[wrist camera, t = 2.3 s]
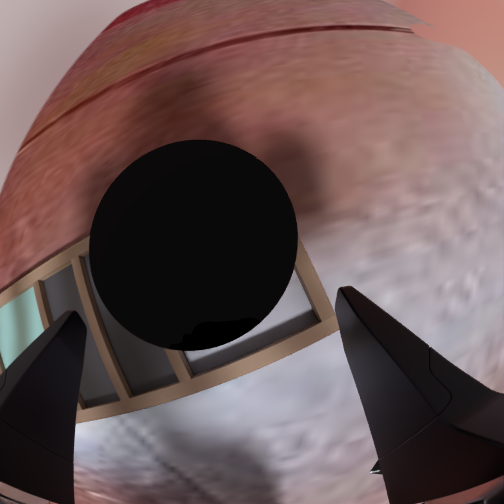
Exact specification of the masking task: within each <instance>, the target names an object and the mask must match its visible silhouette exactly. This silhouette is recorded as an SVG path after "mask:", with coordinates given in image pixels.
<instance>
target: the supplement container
mask: <svg viewBox="0 0 504 504" xmlns="http://www.w3.org/2000/svg"><path fill="white" fill-rule="evenodd" d="M297 249H298V230H297V222H296V217H295V212H294V209H293V206H292V203H291V201H290V198H289V196H288V194H287V192H286V190H285V188H284V187H283V185H282V183H281V182H280V181H279V179H278V178H277V177H276V175H275V174H274V173H273V172H272V171H271V170H270V169H269V168H268V167H267V166H266V165H265V164H264V163H263V162H262V161H260V160H259V159H258V158H256V157H255V156H253V155H252V154H250V153H248V152H246V151H245V150H243V149H240V148H238V147H236V146H233V145H230V144H227V143H223V142H218V141H211V140H186V141H180V142H175V143H171V144H168V145H165V146H162V147H159V148H157V149H155V150H153V151H150V152H148V153H147V154H145V155H143V156H142V157H140V158H138V159H137V160H136V161H134V162H133V163H132V164H130V165H129V166H128V167H127V168H126V169H125V170H124V171H123V172H122V173H121V174H120V175H119V176H118V177H117V178H116V179H115V180H114V182H113V183H112V184H111V185H110V187H109V188H108V190H107V191H106V193H105V194H104V196H103V198H102V200H101V202H100V204H99V206H98V208H97V211H96V214H95V216H94V219H93V223H92V227H91V232H90V239H89V262H90V269H91V274H92V278H93V282H94V284H95V287H96V290H97V292H98V294H99V296H100V298H101V300H102V302H103V304H104V305H105V307H106V308H107V310H108V311H109V313H110V314H111V315H112V316H113V318H114V319H115V320H116V321H117V322H118V323H119V324H120V325H121V326H122V327H124V328H125V329H126V330H127V331H129V332H130V333H131V334H133V335H134V336H136V337H138V338H139V339H141V340H143V341H145V342H147V343H150V344H152V345H155V346H158V347H162V348H166V349H170V350H179V351H197V350H205V349H210V348H214V347H218V346H221V345H224V344H226V343H229V342H231V341H233V340H235V339H237V338H239V337H241V336H243V335H244V334H246V333H247V332H249V331H250V330H252V329H253V328H254V327H255V326H257V325H258V324H259V323H260V322H261V321H262V320H263V319H264V318H265V317H266V316H267V315H268V314H269V313H270V312H271V311H272V310H273V308H274V307H275V306H276V305H277V303H278V302H279V300H280V298H281V297H282V295H283V294H284V292H285V290H286V288H287V286H288V284H289V281H290V279H291V276H292V273H293V270H294V266H295V262H296V257H297Z"/></svg>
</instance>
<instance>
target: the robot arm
mask: <svg viewBox="0 0 504 504" xmlns="http://www.w3.org/2000/svg"><path fill="white" fill-rule="evenodd" d="M335 313H336V317H337V321H338V325H339V329H340V334H341V338H342V342H343V347H344V351H345V354H346V357H347V360H348V363H349V366H350V369H351V372H352V375H353V378H354V381H355V384H356V387H357V390H358V393H359V396H360V399H361V402H362V405H363V408H364V411H365V415H366V418H367V421H368V424H369V428H370V431H371V434H372V438H373V441H374V445H375V448H376V452H377V455H378V459H379V463H380V467H381V471H382V474H383V478H384V482H385V486H386V490H387V495H388V499H389V503H390V504H416V503H421V502H424V503H422V504H504V394H503V393H499V392H496V391H493V390H491V389H490V388H488V387H486V386H485V385H483V384H482V383H480V382H479V381H477V380H476V379H474V378H473V377H471V376H470V375H468V374H467V373H465V372H464V371H462V370H461V369H459V368H458V367H457V366H455V365H454V364H452V363H451V362H449V361H448V360H447V359H446V358H444V357H443V356H442V355H440V354H439V353H438V352H437V351H435V350H434V349H433V348H432V347H429V345H428V344H426V343H425V342H424V341H423V340H421V339H420V338H419V337H418V336H416V335H415V334H414V333H412V332H411V331H410V330H409V329H407V328H406V327H405V326H404V325H402V324H401V323H400V322H398V321H397V320H396V319H394V318H393V317H392V316H391V315H389V314H388V313H387V312H385V311H384V310H383V309H381V308H380V307H379V306H377V305H376V304H375V303H374V302H372V301H371V300H370V299H368V298H367V297H366V296H364V295H363V294H362V293H360V292H359V291H358V290H356V289H355V288H353V287H352V286H345V287H340V288H339V289H338V291H337V297H336V303H335ZM86 338H87V326H86V324H85V323H84V321H83V320H82V318H81V317H80V315H79V313H78V312H77V311H75V310H68V311H65V312H64V313H63V314H62V315H61V316H60V317H59V318H58V319H56V320H55V321H54V322H53V323H52V324H51V325H50V326H49V327H48V328H47V329H46V330H45V331H43V332H42V333H41V334H40V335H39V336H38V337H37V338H36V339H35V340H34V341H33V342H32V343H31V344H30V345H29V346H28V347H27V348H26V349H25V350H24V351H23V352H22V353H21V354H20V355H19V356H18V357H17V358H16V359H15V360H14V361H13V362H12V363H11V364H10V365H9V366H8V368H6V369H5V370H4V371H3V372H2V373H1V374H0V504H50V501H51V502H55V503H58V504H75V501H74V463H73V462H74V439H75V425H76V415H77V406H78V398H79V391H80V385H81V378H82V372H83V365H84V355H85V346H86Z"/></svg>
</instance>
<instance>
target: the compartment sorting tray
mask: <svg viewBox="0 0 504 504" xmlns="http://www.w3.org/2000/svg"><path fill="white" fill-rule="evenodd" d="M89 239H90V236H88V237H86V238H85V239H83V240H81V241H79V242H78V243H76V244H74V245H73V246H71V247H69V248H68V249H66V250H65V251H63V252H61V253H60V254H58V255H56V256H55V257H53V258H52V259H50V260H49V261H47V262H45V263H44V264H42V265H41V266H39V267H38V268H36V269H35V270H33V271H32V272H30V273H29V274H27V275H26V276H25V277H23V278H22V279H20V280H19V281H17V282H16V283H15V284H13V285H12V286H10V287H9V288H8V289H6V290H5V291H4V292H2V293H1V294H0V374H1V373H2V372H3V371H4V370H5V369H6V368H8V366H9V365H10V364H11V363H12V362H13V361H14V360H15V359H16V358H17V357H18V356H19V355H20V354H21V353H22V352H23V351H24V350H25V349H26V348H27V347H28V346H29V345H30V344H31V343H32V342H33V341H34V340H35V339H36V338H37V337H38V336H39V335H40V334H41V333H42V332H43V331H45V330H46V329H47V328H48V327H49V326H50V325H51V324H52V323H53V322H54V321H55V320H56V319H58V318H59V317H60V316H61V315H62V314H63V313H64V312H65V311H68V310H75V311H77V312H78V313H79V315H80V317H81V318H82V320H83V321H84V323H85V324H86V326H87V338H86V346H85V355H84V365H83V372H82V378H81V385H80V391H79V398H78V406H77V415H76V423H82V422H87V421H93V420H98V419H103V418H108V417H112V416H117V415H121V414H125V413H129V412H133V411H137V410H141V409H145V408H148V407H152V406H156V405H159V404H162V403H166V402H169V401H172V400H176V399H179V398H182V397H185V396H188V395H191V394H194V393H197V392H200V391H203V390H206V389H208V388H211V387H214V386H217V385H219V384H222V383H225V382H227V381H230V380H233V379H235V378H238V377H240V376H243V375H245V374H247V373H250V372H252V371H255V370H257V369H259V368H262V367H264V366H266V365H269V364H271V363H273V362H275V361H278V360H280V359H282V358H284V357H286V356H288V355H291V354H293V353H295V352H297V351H299V350H301V349H303V348H305V347H307V346H309V345H311V344H313V343H315V342H317V341H319V340H321V339H323V338H325V337H327V336H329V335H331V334H332V333H334V332H336V331H338V330H340V329H339V325H338V321H337V317H336V314H335V312H334V310H333V308H332V306H331V303H330V301H329V299H328V297H327V295H326V292H325V290H324V288H323V286H322V284H321V282H320V279H319V277H318V275H317V273H316V271H315V269H314V267H313V265H312V263H311V260H310V258H309V256H308V254H307V252H306V250H305V248H304V246H303V244H302V242H301V240H300V238H299V236H298V249H297V257H296V262H295V266H294V270H295V272H296V274H297V276H298V278H299V280H300V282H301V284H302V287H303V289H304V291H305V293H306V295H307V297H308V300H309V302H310V304H311V306H312V308H313V310H314V313H315V315H316V317H317V319H318V322H316V323H314V324H312V325H310V326H308V327H306V328H304V329H302V330H300V331H298V332H296V333H294V334H291V335H289V336H287V337H285V338H283V339H281V340H279V341H276V342H274V343H272V344H270V345H268V346H265V347H263V348H261V349H259V350H256V351H254V352H252V353H249V354H247V355H245V356H242V357H240V358H237V359H235V360H233V361H230V362H228V363H225V364H223V365H220V366H218V367H215V368H212V369H210V370H207V371H204V372H202V373H199V374H196V375H194V374H193V372H192V370H191V368H190V366H189V364H188V362H187V360H186V357H185V355H184V353H183V351H179V350H170V349H166V348H162V347H158V346H155V345H152V344H150V343H147V342H145V341H143V340H141V339H139V338H138V337H136V336H134V335H133V334H131V333H130V332H129V331H127V330H126V329H125V328H124V327H122V326H121V325H120V324H119V323H118V322H117V321H116V320H115V319H114V318H113V316H112V315H111V314H110V313H109V311H108V310H107V308H106V307H105V305H104V304H103V302H102V300H101V298H100V296H99V294H98V292H97V290H96V287H95V284H94V282H93V278H92V274H91V269H90V262H89Z"/></svg>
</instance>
